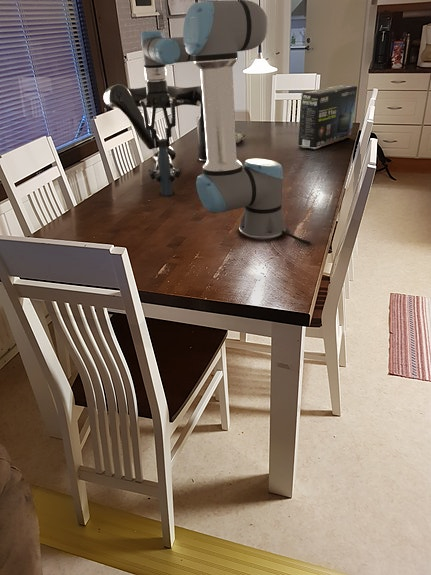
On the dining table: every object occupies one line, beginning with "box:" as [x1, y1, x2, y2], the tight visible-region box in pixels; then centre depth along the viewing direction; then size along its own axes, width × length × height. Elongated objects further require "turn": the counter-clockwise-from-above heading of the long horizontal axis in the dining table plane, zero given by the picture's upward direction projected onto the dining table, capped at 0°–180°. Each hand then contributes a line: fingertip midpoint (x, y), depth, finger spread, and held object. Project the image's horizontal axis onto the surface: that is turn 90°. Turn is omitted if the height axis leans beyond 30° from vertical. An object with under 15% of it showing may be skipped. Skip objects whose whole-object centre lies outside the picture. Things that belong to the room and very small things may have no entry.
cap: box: [157, 138, 167, 149], centre depth 175 cm, size 4×4×2 cm
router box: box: [297, 84, 358, 151], centre depth 238 cm, size 36×11×27 cm, turn 134°
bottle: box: [157, 147, 174, 197], centre depth 180 cm, size 5×5×21 cm
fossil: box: [235, 129, 247, 144], centre depth 253 cm, size 18×11×15 cm
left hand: (165, 179), depth 179 cm, fingers closed on bottle, 4 cm apart
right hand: (162, 146), depth 175 cm, fingers closed on cap, 4 cm apart
